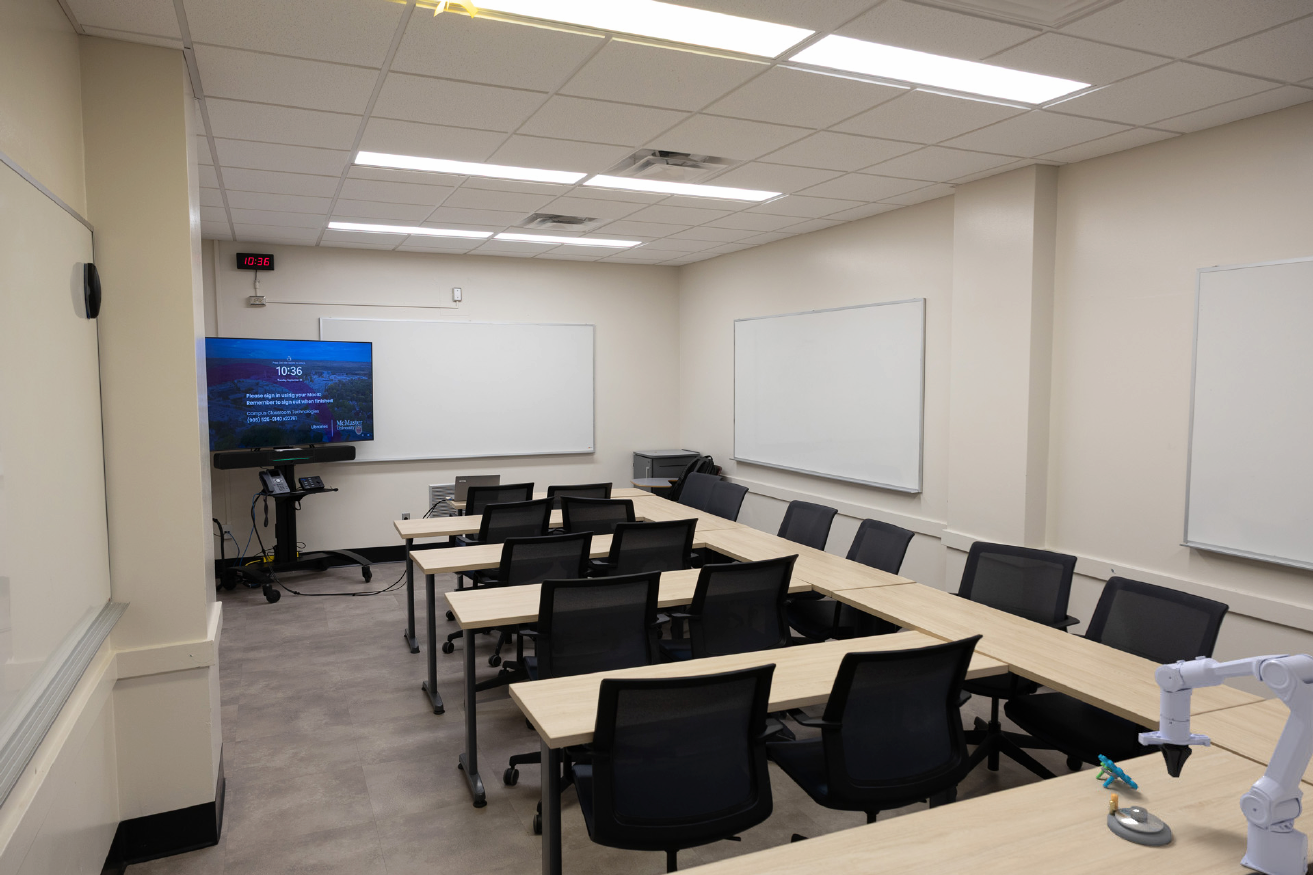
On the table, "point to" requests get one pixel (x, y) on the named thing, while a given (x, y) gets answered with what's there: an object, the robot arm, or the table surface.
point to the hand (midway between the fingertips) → (1173, 775)
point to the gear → (1114, 773)
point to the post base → (1136, 836)
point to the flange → (1137, 818)
